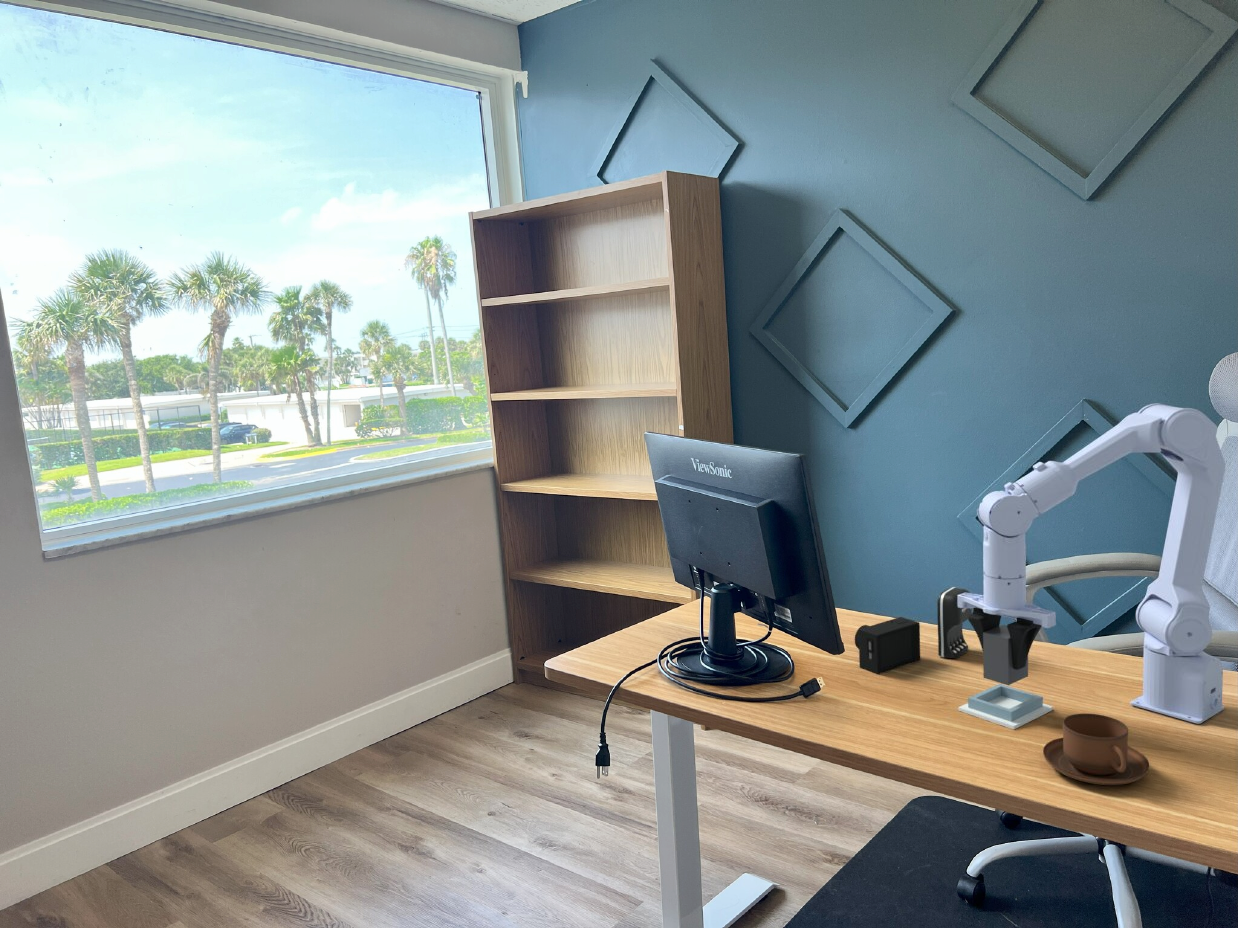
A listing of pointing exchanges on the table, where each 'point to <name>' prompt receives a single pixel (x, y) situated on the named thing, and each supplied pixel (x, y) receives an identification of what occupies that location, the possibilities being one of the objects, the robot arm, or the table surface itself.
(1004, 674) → the plug
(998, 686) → the socket dock
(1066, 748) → the cup and saucer
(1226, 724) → the table surface
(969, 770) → the table surface
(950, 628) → the battery charger
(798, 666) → the table surface
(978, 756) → the table surface
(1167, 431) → the robot arm
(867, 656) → the digital camera
